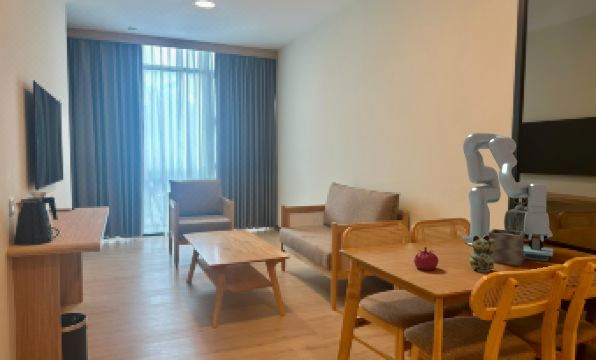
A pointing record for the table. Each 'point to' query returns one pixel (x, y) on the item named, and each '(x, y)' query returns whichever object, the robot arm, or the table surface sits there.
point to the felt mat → (535, 257)
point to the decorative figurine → (482, 254)
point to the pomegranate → (426, 260)
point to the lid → (538, 248)
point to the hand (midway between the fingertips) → (535, 248)
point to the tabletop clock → (515, 217)
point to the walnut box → (507, 246)
